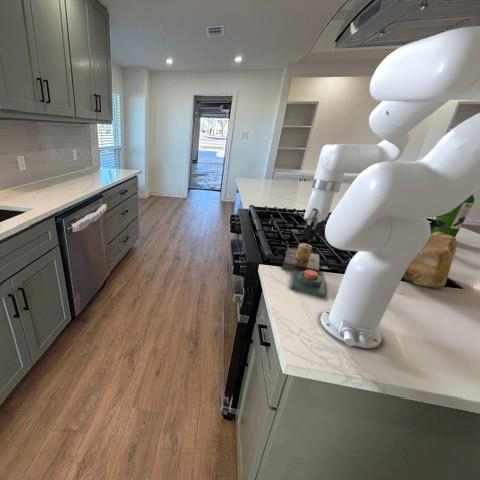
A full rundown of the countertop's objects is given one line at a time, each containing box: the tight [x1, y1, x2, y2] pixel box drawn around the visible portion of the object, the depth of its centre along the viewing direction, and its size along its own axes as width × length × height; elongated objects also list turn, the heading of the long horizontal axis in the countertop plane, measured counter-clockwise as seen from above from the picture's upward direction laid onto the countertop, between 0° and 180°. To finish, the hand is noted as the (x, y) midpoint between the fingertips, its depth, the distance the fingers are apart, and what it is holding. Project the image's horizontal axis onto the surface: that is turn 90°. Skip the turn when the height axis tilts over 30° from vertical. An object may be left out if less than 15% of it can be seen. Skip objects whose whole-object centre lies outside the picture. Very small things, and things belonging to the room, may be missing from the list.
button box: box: [290, 270, 326, 299], centre depth 82 cm, size 11×9×4 cm
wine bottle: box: [432, 193, 476, 239], centre depth 117 cm, size 9×9×32 cm
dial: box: [296, 242, 314, 261], centre depth 92 cm, size 4×4×5 cm
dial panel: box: [282, 247, 320, 274], centre depth 94 cm, size 14×11×3 cm
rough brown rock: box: [402, 232, 458, 289], centre depth 89 cm, size 23×17×15 cm
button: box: [304, 270, 319, 280], centre depth 81 cm, size 4×4×2 cm
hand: (311, 235), depth 86 cm, fingers open, 9 cm apart
